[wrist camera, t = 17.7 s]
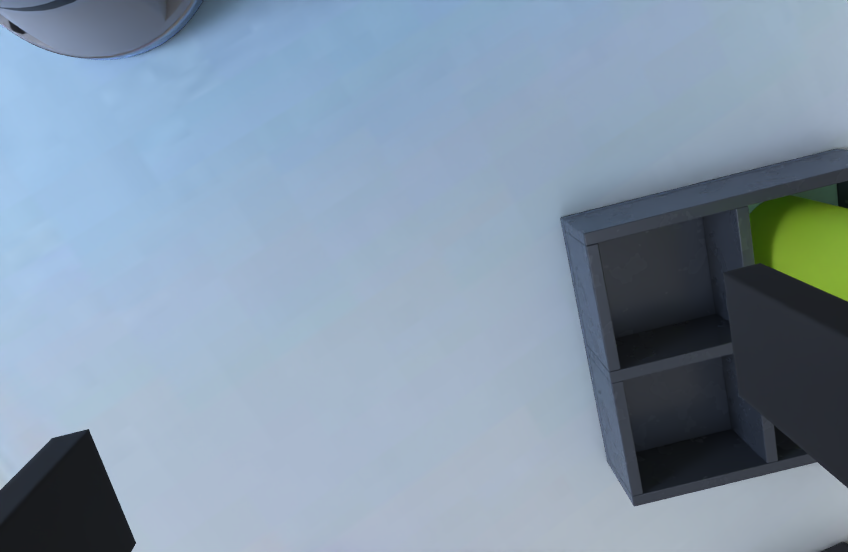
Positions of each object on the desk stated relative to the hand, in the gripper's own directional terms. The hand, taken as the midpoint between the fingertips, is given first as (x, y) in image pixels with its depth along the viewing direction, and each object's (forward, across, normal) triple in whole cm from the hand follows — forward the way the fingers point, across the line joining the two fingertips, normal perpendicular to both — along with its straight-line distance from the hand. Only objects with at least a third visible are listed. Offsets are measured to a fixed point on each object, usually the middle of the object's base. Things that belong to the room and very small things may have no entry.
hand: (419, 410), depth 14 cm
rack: (+33, +20, -14) cm, 41 cm away
